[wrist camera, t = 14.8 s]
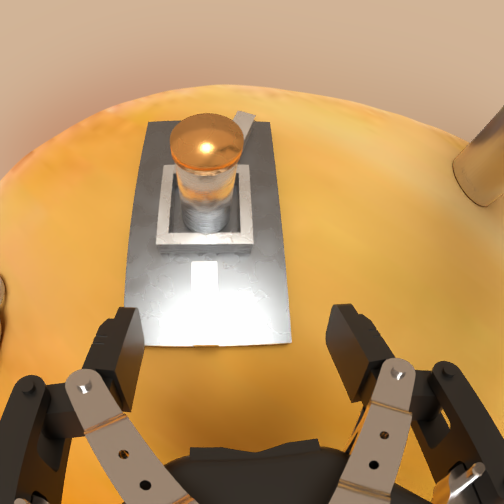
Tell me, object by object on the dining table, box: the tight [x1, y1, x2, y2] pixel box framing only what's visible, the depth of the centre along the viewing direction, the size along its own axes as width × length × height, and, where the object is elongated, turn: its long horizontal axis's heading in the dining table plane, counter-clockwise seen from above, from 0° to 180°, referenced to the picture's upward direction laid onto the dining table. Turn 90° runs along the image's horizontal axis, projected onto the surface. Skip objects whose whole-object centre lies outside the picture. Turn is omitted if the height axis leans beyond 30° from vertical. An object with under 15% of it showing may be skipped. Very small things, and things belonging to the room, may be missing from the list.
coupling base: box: [124, 111, 292, 347], centre depth 27 cm, size 24×14×4 cm, turn 3°
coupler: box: [170, 113, 244, 233], centre depth 23 cm, size 5×5×10 cm
